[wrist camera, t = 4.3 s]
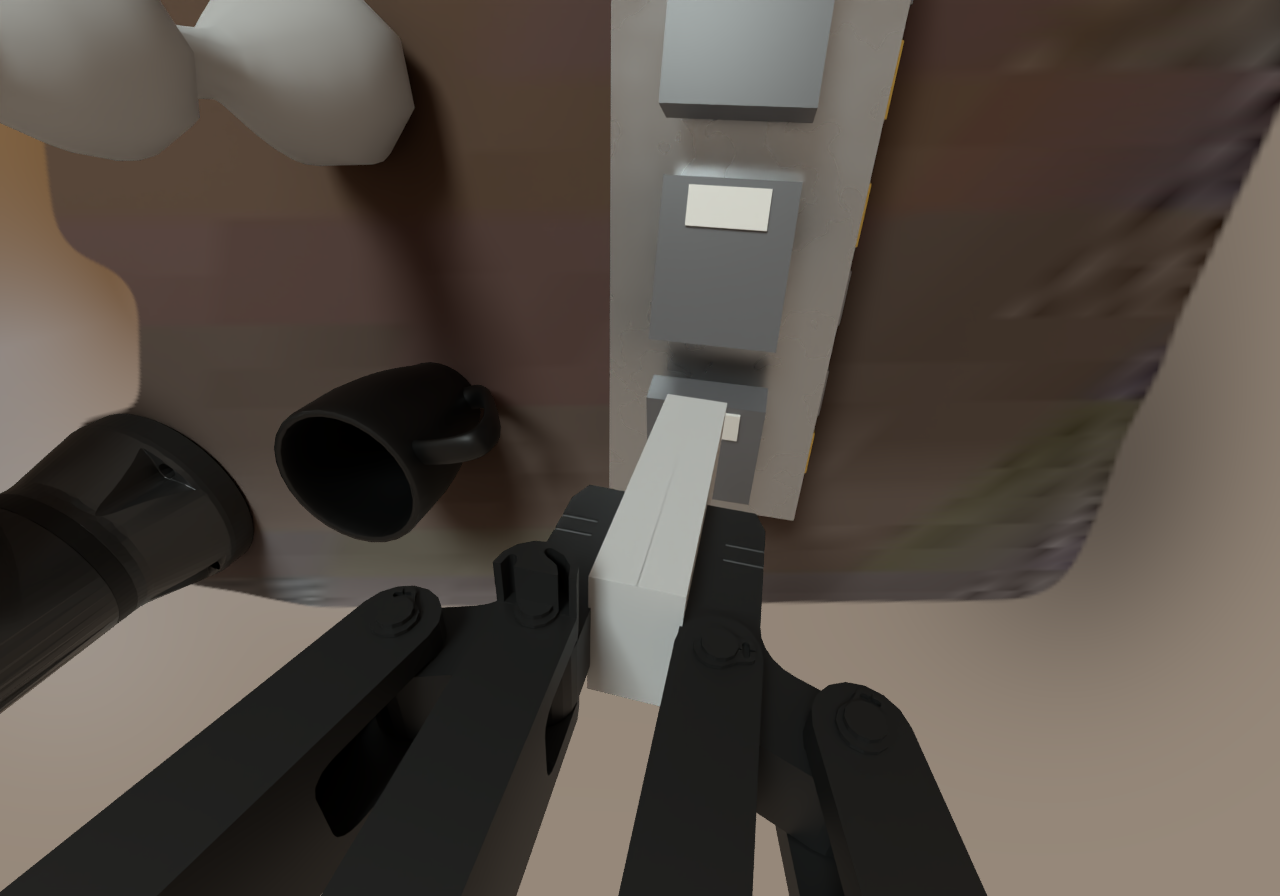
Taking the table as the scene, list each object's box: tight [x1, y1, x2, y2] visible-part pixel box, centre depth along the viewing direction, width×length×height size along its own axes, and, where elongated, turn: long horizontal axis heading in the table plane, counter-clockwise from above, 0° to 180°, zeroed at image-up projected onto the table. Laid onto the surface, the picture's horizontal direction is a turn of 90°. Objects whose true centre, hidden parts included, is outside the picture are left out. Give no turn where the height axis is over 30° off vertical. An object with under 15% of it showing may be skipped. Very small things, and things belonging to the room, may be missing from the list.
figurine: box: [0, 0, 415, 166], centre depth 19 cm, size 8×8×20 cm
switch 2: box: [649, 174, 803, 353], centre depth 21 cm, size 5×6×2 cm
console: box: [609, 0, 913, 521], centre depth 25 cm, size 10×26×6 cm, turn 178°
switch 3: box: [646, 375, 768, 505], centre depth 26 cm, size 5×6×2 cm
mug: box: [274, 362, 501, 542], centre depth 32 cm, size 8×12×10 cm
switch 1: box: [659, 0, 835, 123], centre depth 17 cm, size 5×6×2 cm
